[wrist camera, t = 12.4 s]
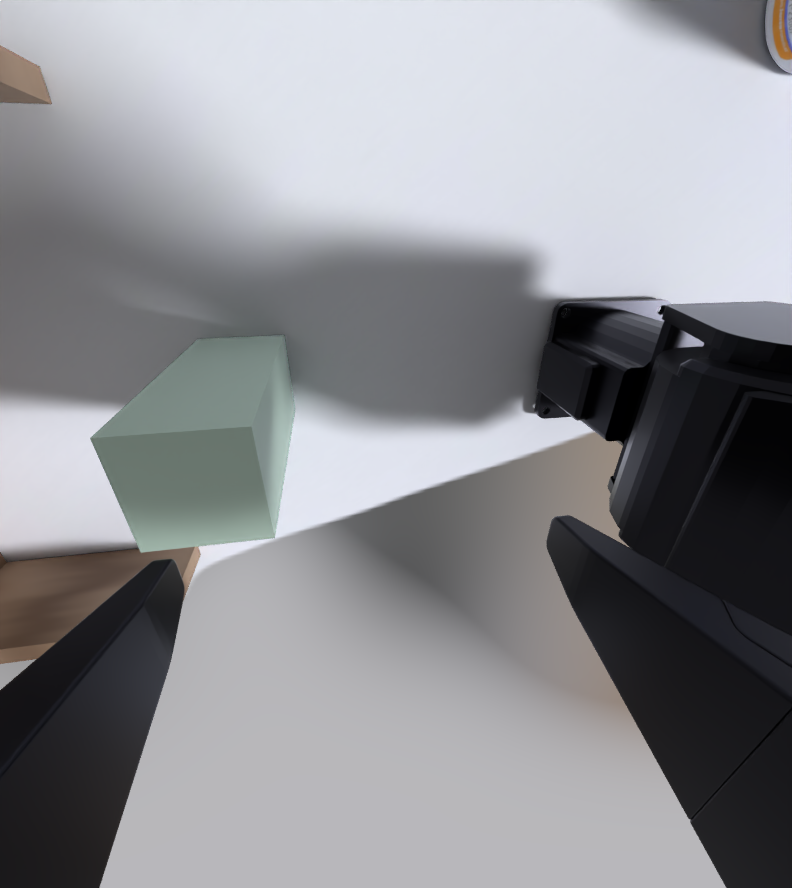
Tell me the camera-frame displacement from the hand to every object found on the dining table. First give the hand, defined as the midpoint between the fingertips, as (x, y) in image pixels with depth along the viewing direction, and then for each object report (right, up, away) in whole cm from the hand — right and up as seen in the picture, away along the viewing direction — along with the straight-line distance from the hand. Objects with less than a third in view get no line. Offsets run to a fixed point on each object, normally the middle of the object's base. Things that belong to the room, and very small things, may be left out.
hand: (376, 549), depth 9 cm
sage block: (-7, +6, +11) cm, 14 cm away
